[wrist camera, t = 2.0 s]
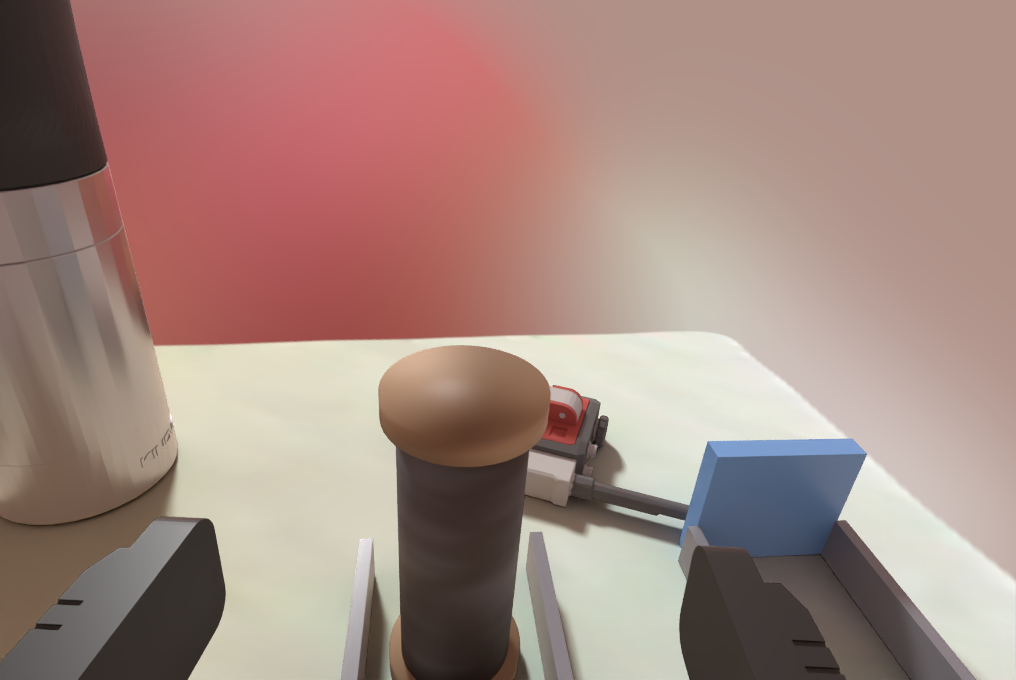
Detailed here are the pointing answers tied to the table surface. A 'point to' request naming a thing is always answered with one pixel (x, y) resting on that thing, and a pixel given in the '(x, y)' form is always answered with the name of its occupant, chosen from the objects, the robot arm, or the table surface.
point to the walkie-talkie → (581, 459)
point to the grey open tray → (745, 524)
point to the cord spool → (460, 506)
